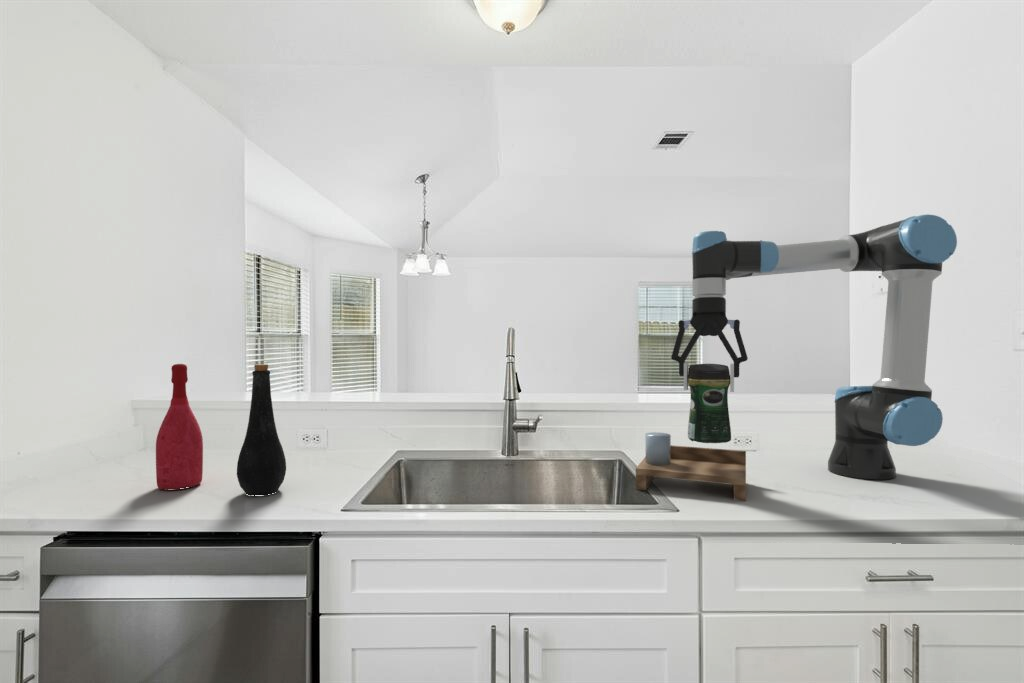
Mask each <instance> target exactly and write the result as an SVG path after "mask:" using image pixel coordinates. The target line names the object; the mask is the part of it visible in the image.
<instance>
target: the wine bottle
mask: <svg viewBox="0 0 1024 683" xmlns="http://www.w3.org/2000/svg"><path fill="white" fill-rule="evenodd" d="M170 370H171V380H170V382H171V383H172V396H171V399H170V405H169V408H168V409H167V412H166V414H165V416H164V418H163V420H162V422H161V423H160V424H161V425H160V427H159V429H158V432H157V435H156V441H155V473H156V474H155V475H156V487H157V488H158V489H159V488H160V489H159V490H162V489H167V490H166V491H169V490H168V489H180V488H186V487H191V486H194V487H196V486H195V485H197V486H198V484H199V485H200V484H201V483H202V481H203V472H204V471H203V470H204V442H203V440H204V439H203V434H202V433H203V432H202V430H201V427H200V425H199V423H198V421H197V419H196V416H195V414H194V412H193V410H192V408H191V406H190V402H189V399H188V395H187V388H186V387H187V382H188V381H189V379H188V366H187V365H186V364H184V363H176V364H173V365H172V366H171V369H170ZM191 488H192V487H191Z"/></svg>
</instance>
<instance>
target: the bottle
mask: <svg viewBox="0 0 1024 683" xmlns="http://www.w3.org/2000/svg"><path fill="white" fill-rule="evenodd" d="M253 366H254V370H253V371H252V372H251V374H252V384H251V385H252V386H251V387H252V388H251V400H250V408H249V416H248V422H247V427H246V428H247V429H246V432H245V436H244V440H243V444H242V446H241V449H240V451H239V455H238V458H237V459H238V460H237V464H236V477H237V480H238V484H239V486H240V488H241V490H242V491H244V494H245V493H246V494H248V495H254V496H255V495H268V494H272V493H275V492H277V491H278V492H279V489H280V488H281V485H282V484H283V483H284V480H285V476H286V472H287V461H286V455H285V452H284V449H283V446H282V443H281V441H280V439H279V435H278V432H277V426H276V422H275V415H274V408H273V402H272V391H271V390H272V388H271V377H270V376H271V375H270V374H271V370H268V369H269V364H268V363H267V364H263V363H262V364H254V365H253ZM278 492H277V493H278ZM275 494H276V493H275ZM272 495H273V494H272ZM268 496H269V495H268Z"/></svg>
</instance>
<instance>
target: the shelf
mask: <svg viewBox="0 0 1024 683" xmlns="http://www.w3.org/2000/svg"><path fill="white" fill-rule="evenodd" d="M746 452H747V450H738V449H727V448H726V449H723V448H712V447H697V446H685V445H684V446H683V445H671V464H669V465H651V464H647V463H646V456H645V457H643V459H642V460H641V461H640V462H639V464H638V465H637V466H636V467H635V490H638V491H639V490H641V491H647V489H648V488H649V487H650V485H651V483H652V482H653V481H654V479H655V477H656V478H657V477H658V478H665V479H666V478H668V479H676V480H677V479H679V480H689V481H699V482H707V483H709V482H710V483H717V484H718V483H719V484H729V485H733V500H734V501H738V502H739V501H741V502H746V501H747V500H746V499H747V498H746V495H747V490H746V489H747V486H746V485H747V482H746V481H747V469H746V468H747V467H746V466H747V456H746V454H747V453H746Z"/></svg>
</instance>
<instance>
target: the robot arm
mask: <svg viewBox="0 0 1024 683" xmlns="http://www.w3.org/2000/svg"><path fill="white" fill-rule="evenodd" d="M957 245H958V239H957V233H956V231H955V229H954V228H953V226H952V225H951V224H949V223H948V222H947V220H946V219H944V218H943V217H941V216H939V215H935V214H921V215H917V216H916V215H914V216H910V217H907V218H905V219H902V220H899V221H896V222H892V223H888V224H886V225H882V226H879V227H876V228H873V229H869V230H866V231H863V232H859V233H855V234H848V235H847V234H845V235H843V236H841V237H840V238H838V239H836V240H834V239H833V240H824V241H812V242H803V243H791V244H790V243H789V244H780V245H777V244H776V243H775V242H773V241H769V240H767V241H765V240H742V241H741V240H740V241H739V240H728V239H727V235H726V233H725V232H724V231H720V230H707V231H701V232H699V233H696V234H695V235H694V236H693V238H692V248H691V250H692V252H691V254H692V255H691V256H692V258H691V259H692V260H691V261H692V281H691V282H692V283H691V284H692V285H691V288H692V293H691V294H692V297H694V298H692V304H691V305H692V306H691V307H692V309H691V310H692V315H691V318H690V319H688V320H687V319H686V320H682V319H680V320H678V333H677V336H676V340H675V343H674V346H673V350H672V353H671V357H670V358H671V360H672V361H676V362H677V363H678V374H679V376H680V377H683V391H688V390H689V384H688V373H689V363H688V362H686V360H687V358H689V357H688V356H689V355H690V353H691V351H692V350H693V349H694V347H695V345H696V343H697V342H698V339H699V338H700V336H701V337H707V336H710V337H717V336H718V339H719V340H720V341H721V343H722V345H723V346H724V348H725V350H726V352H727V354H728V355H729V357H730V358H731V360H732V362H733V363H730V367H729V368H730V369H729V373H730V385H729V389H730V390H729V392H730V393H735V378H740V364H741V363H743V362H747V361H748V359H749V358H748V354H747V351H746V347H745V344H744V342H743V341H744V340H743V339H742V335H741V331H740V328H741V327H740V326H741V321H740V320H739V319H728V317H727V314H726V313H727V312H726V310H727V300H726V298H725V297H724V296H726V294H727V292H726V291H727V285H726V284H727V281H729V280H731V279H739V278H747V277H758V276H771V275H779V274H780V275H781V274H794V273H806V272H817V271H828V270H838V269H839V270H840V271H842V272H844V273H849V272H881V275H882V276H883V278H885V279H886V280H887V283H888V284H887V292H886V294H887V297H886V306H885V307H886V308H885V320H884V330H883V332H884V333H883V342H882V343H883V344H882V355H881V368H880V370H881V371H880V378H879V379H878V380H877V381H875V382H874V383H872V385H857V386H856V385H855V386H853V385H852V386H840V387H838V388H837V390H836V391H835V397H834V410H835V412H834V413H835V416H834V418H835V419H834V421H835V423H834V424H835V425H834V426H835V427H834V428H835V437H834V438H835V441H834V444H833V447H832V450H831V453H830V456H829V457H828V460H827V470H828V472H831V473H834V474H837V475H840V476H845V477H850V478H855V479H865V480H875V481H876V480H881V481H882V480H884V481H885V480H891V479H895V478H896V477H897V476H896V475H897V470H896V469H897V468H896V465H895V463H894V460H893V457H892V455H891V451H890V449H889V446H888V442H889V443H893V444H895V445H901V446H907V447H908V446H909V447H918V446H922V445H925V444H927V443H929V442H930V441H931V440H932V439H934V438H935V437H936V436H937V435H938V434H939V432H940V430H941V428H942V425H943V413H942V410H941V408H939V405H938V404H937V403H936V402H935V401H933V400H932V398H933V397H932V396H933V390H932V388H930V387H929V385H927V384H926V381H925V380H926V370H927V368H926V366H927V357H928V356H927V354H928V343H929V330H930V317H931V307H932V306H931V304H932V294H933V283H934V281H935V280H936V279H937V278H939V277H940V275H942V273H943V272H942V271H943V263H944V262H946V261H948V260H949V258H951V256H953V254H955V251H956V249H957ZM689 325H691V326H692V328H693V330H694V333H693V335H692V337H691V338H690V340H689V341H688V343H687V345H686V347H685V349H684V350H683V352H682V354H681V356H679V355H680V350H681V347H682V344H683V340H684V337H685V333H686V330H687V329H689ZM727 325H729V327H730V329H733V333H734V335H735V336H734V337H735V340H736V343H737V347H738V350H739V353H740V356H739V357H738V356H737V354H736V352H735V351H734V349H733V347H732V346H731V344H730V342H729V341H728V339H727V337H726V335H725V334H724V332H723V330H724V329H725V328H726V326H727Z"/></svg>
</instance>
